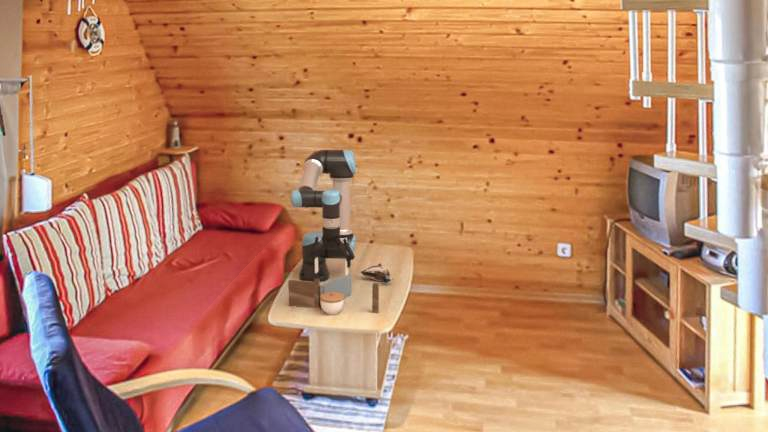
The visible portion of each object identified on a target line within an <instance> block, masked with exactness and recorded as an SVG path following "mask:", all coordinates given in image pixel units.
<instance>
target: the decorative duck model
mask: <svg viewBox="0 0 768 432" xmlns="http://www.w3.org/2000/svg"><path fill="white" fill-rule="evenodd" d="M360 274H362V276H364V277H367V278H369V279H372V280H373V281H377V282H382V281H383V282H384V283H390V282H391V281H394V280H395V278H393V277H391V272H390V271H389V270H388V269H387V268H386V267H385V266H383V265H382V264H381V263H380V262H379V264H378V263H377V265H372V266H370V267H368V268H365V269H363V270H362V271H360ZM390 277H391V278H390Z"/></svg>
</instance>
